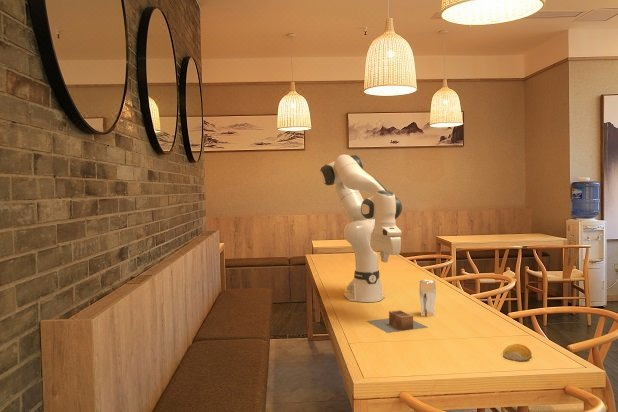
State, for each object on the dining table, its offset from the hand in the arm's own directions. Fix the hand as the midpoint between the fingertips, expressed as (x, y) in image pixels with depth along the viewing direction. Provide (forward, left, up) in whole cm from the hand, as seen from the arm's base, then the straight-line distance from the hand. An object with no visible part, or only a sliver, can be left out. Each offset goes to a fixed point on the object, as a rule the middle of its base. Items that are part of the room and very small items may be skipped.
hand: (384, 261), depth 216 cm
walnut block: (+12, -2, -21) cm, 24 cm away
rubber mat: (+13, -2, -24) cm, 27 cm away
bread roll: (+60, +16, -24) cm, 67 cm away
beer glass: (+6, +17, -24) cm, 30 cm away
